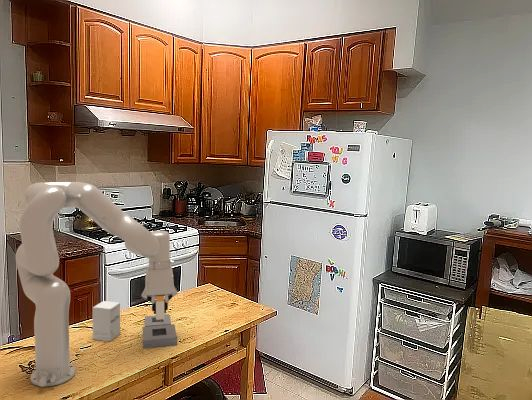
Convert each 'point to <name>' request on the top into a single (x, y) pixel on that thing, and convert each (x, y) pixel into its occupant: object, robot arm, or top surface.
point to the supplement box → (106, 320)
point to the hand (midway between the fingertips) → (159, 311)
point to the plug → (159, 307)
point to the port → (159, 336)
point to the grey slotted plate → (151, 319)
